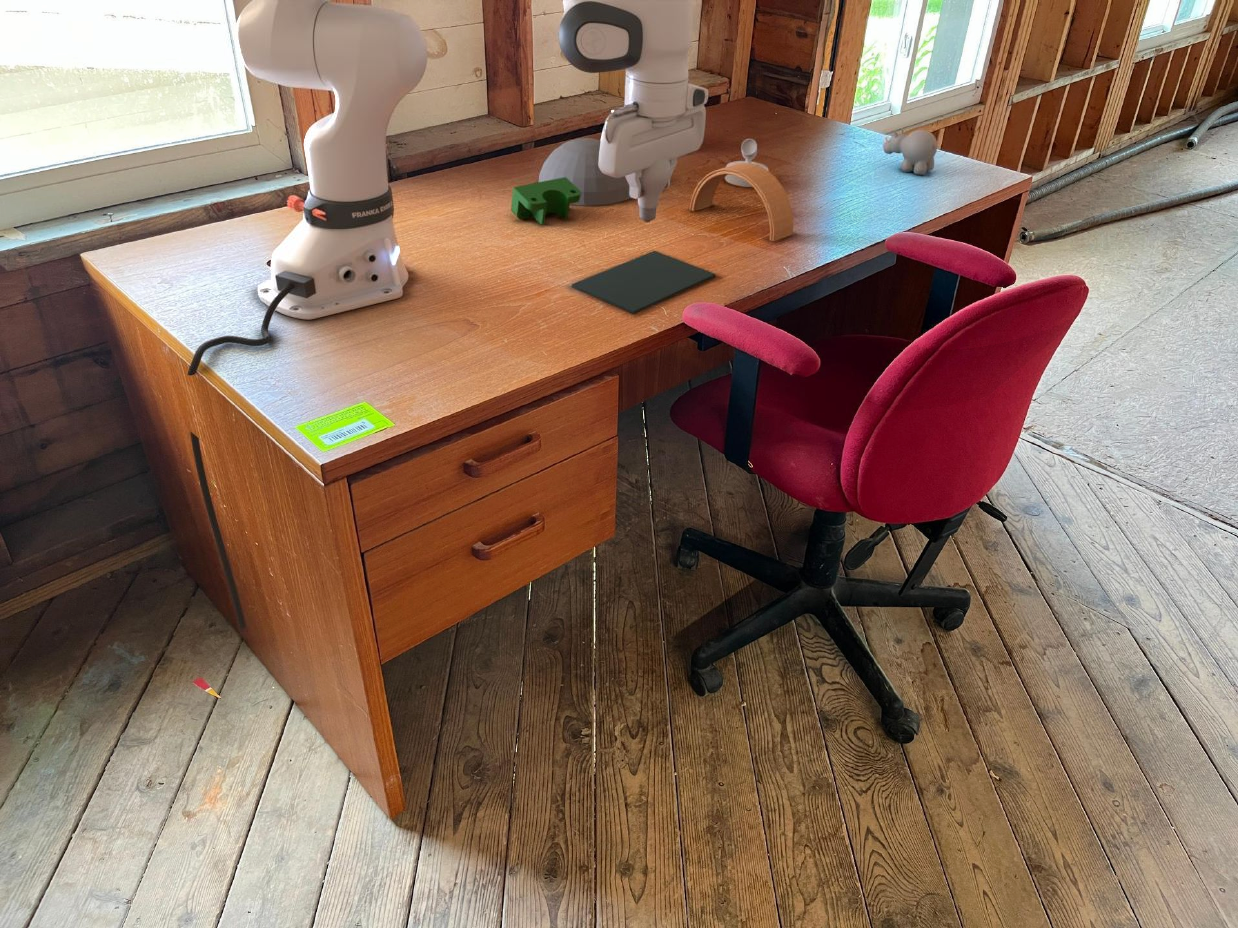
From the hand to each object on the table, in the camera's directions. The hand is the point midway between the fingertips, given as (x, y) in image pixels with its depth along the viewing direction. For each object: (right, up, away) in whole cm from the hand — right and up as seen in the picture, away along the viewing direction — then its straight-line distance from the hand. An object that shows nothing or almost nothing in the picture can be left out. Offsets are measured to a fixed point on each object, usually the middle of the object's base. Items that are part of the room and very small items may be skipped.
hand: (649, 192), depth 140 cm
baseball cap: (-9, +14, +45) cm, 48 cm away
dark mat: (-1, -12, +8) cm, 14 cm away
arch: (+18, +4, +31) cm, 36 cm away
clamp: (-18, +4, +29) cm, 34 cm away
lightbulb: (0, -4, +3) cm, 5 cm away
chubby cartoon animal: (+57, +23, +62) cm, 88 cm away
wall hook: (+21, +17, +51) cm, 57 cm away
